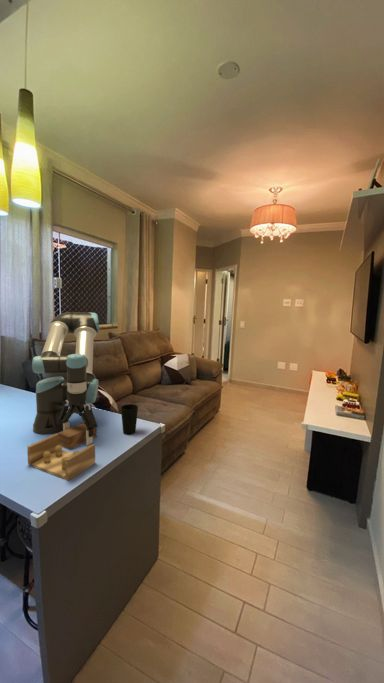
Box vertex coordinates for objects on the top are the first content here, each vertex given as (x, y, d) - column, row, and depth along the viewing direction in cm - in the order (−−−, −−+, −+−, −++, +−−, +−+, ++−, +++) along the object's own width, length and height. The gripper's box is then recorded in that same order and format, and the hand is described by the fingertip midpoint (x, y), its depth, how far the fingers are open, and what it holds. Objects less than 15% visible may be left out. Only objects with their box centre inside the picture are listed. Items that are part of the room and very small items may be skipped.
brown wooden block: (69, 450, 113) (69, 437, 113) (58, 445, 117) (57, 433, 116) (96, 436, 126) (96, 425, 125) (85, 433, 129) (85, 421, 128)
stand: (28, 465, 102) (27, 446, 101) (56, 450, 113) (55, 433, 112) (68, 480, 93) (68, 460, 93) (95, 463, 104) (94, 444, 103)
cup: (133, 436, 126) (133, 410, 125) (117, 434, 128) (117, 409, 126) (140, 429, 134) (140, 405, 132) (125, 427, 135) (125, 403, 134)
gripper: (48, 389, 120) (49, 437, 123) (92, 398, 110) (93, 450, 112) (63, 385, 127) (64, 431, 129) (106, 393, 117) (106, 442, 119)
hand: (77, 440), depth 121 cm, fingers open, 12 cm apart
